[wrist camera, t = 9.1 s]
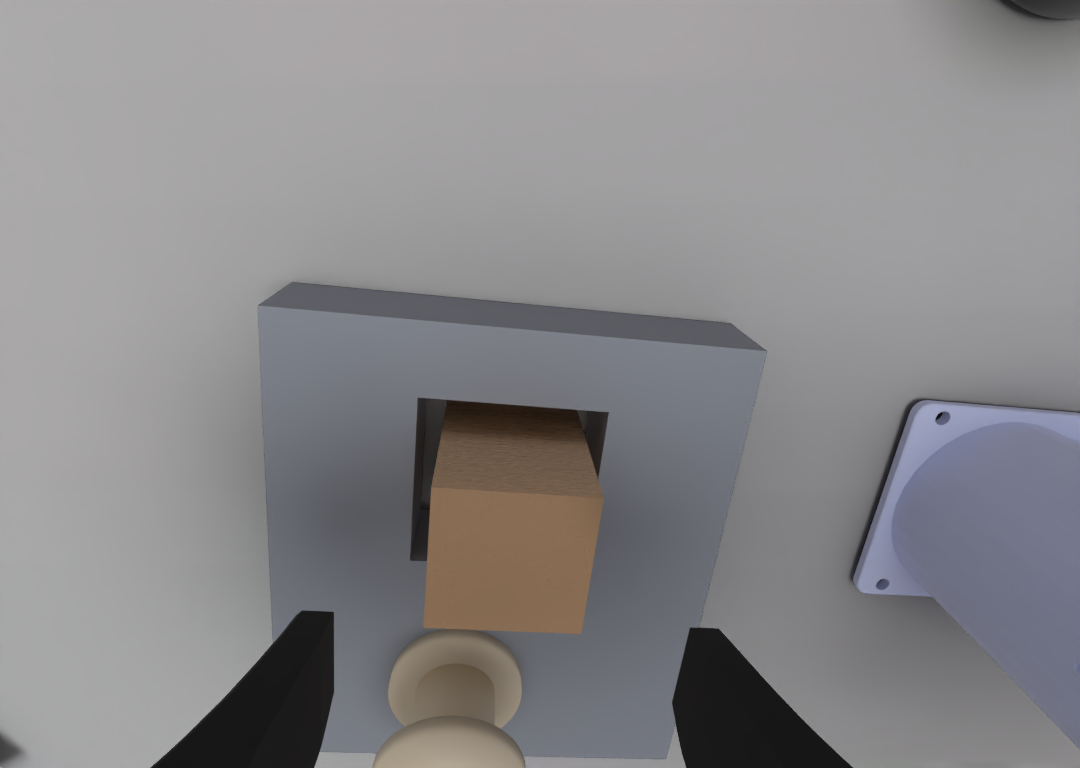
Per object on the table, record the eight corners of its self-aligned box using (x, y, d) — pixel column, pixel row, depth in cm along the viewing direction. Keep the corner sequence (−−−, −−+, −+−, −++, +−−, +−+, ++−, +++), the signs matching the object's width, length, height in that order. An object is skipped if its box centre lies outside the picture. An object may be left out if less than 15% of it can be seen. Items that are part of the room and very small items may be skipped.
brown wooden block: (570, 389, 21) (603, 498, 15) (556, 492, 23) (581, 633, 16) (451, 380, 21) (431, 487, 14) (444, 486, 22) (423, 627, 16)
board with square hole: (730, 323, 21) (838, 405, 14) (648, 693, 26) (698, 875, 20) (291, 282, 19) (188, 352, 13) (302, 682, 25) (233, 874, 18)
